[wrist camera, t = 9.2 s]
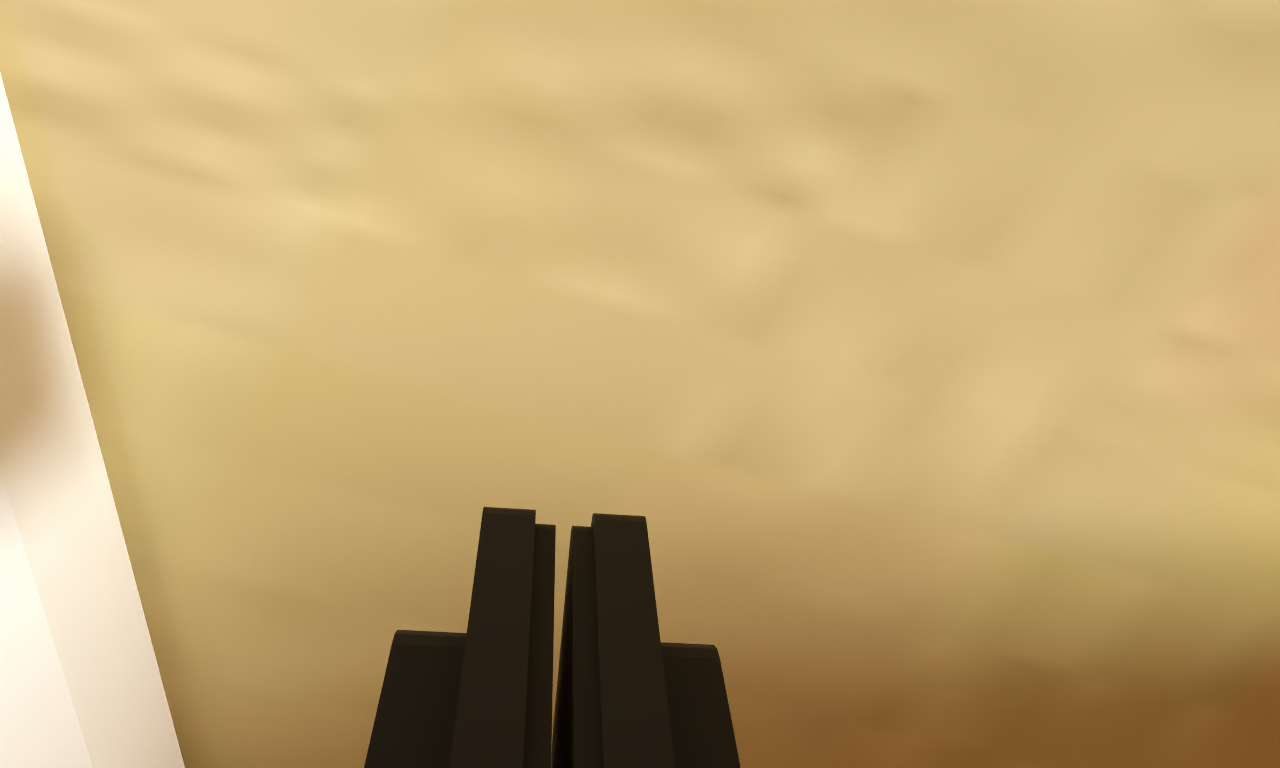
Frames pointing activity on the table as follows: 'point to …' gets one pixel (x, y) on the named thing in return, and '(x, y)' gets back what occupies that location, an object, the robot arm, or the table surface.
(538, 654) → the robot arm
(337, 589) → the table surface
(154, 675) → the white chamfered bar
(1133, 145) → the table surface
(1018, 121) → the table surface
